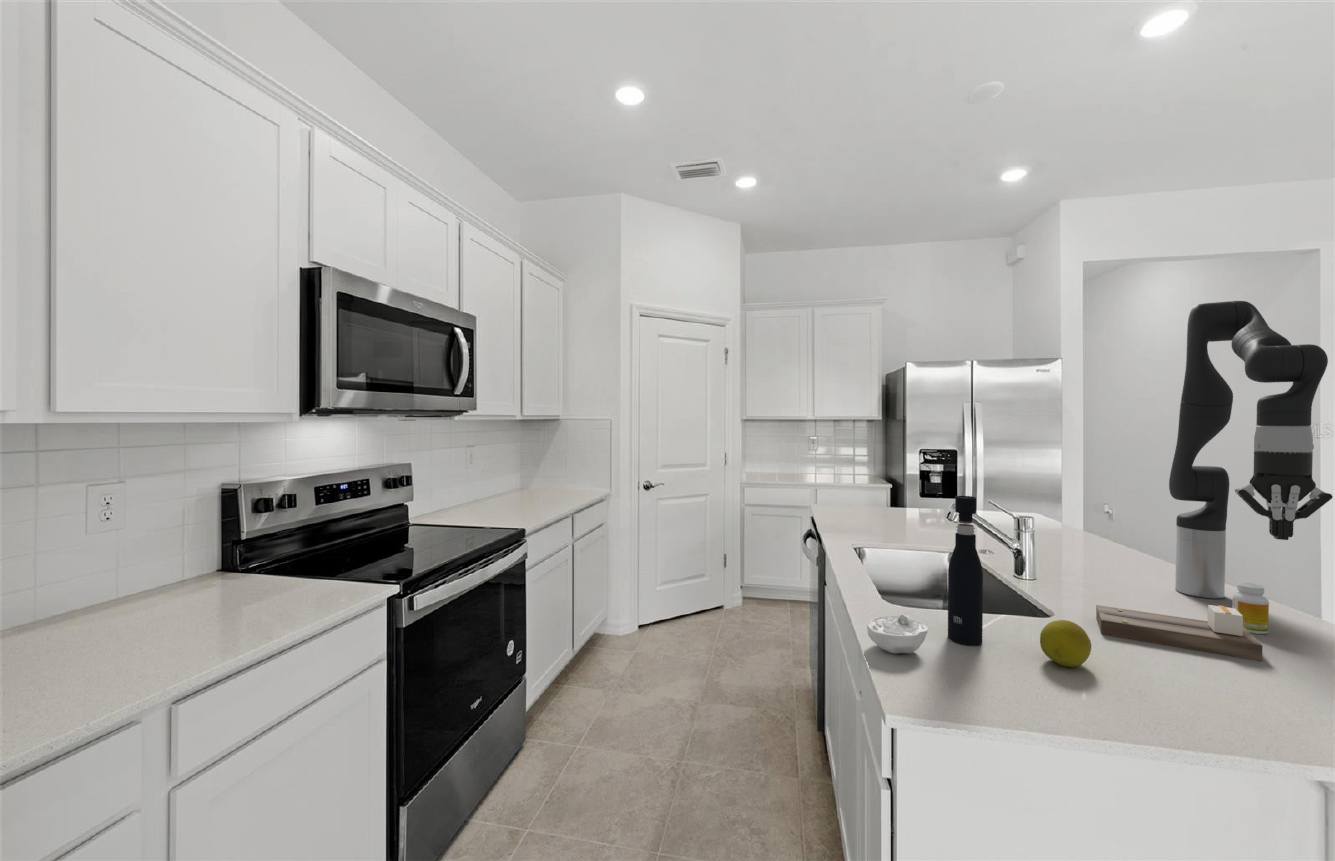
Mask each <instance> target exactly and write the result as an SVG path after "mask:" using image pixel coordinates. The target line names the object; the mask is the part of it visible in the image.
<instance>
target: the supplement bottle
mask: <svg viewBox="0 0 1335 861" xmlns="http://www.w3.org/2000/svg"><path fill="white" fill-rule="evenodd" d="M1236 585H1237V586H1236V588H1237V591H1238V592H1235V593H1233V594H1232V603H1231V604H1232V607H1231V608H1235V609H1236V610H1237V611H1238V612H1239V613H1240V614H1241V615H1242V616H1243V627H1245V628H1246V629H1247V630H1248V631H1249V632H1250V633H1251V634H1255V635H1266V634H1268V633H1269V614H1270V613H1269V608H1270V603H1269V601H1270V600H1269V599H1268V598H1266V597H1265V596H1264V595H1265V587H1264V586H1262V585H1259V584H1254V583H1249V582H1247V583H1246V582H1238V583H1237V584H1236Z"/></svg>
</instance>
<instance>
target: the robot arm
mask: <svg viewBox="0 0 1335 861" xmlns="http://www.w3.org/2000/svg"><path fill="white" fill-rule="evenodd" d="M1186 329H1187V330H1186V332H1187V333H1186V355H1185V356H1186V362H1185V372H1184V379H1183V386H1182V393H1181V397H1180V404H1179V416H1178V417H1179V418H1178V429H1177V439H1176V440H1177V441H1176V444H1175V450H1174V456H1173V461H1172V463H1171V464H1172V465H1171V468H1170V473H1169V474H1170V475H1169V480H1168V483H1169V484H1168V489H1169V493H1170V496H1171V497H1172V498H1173V499H1175V500H1177V501H1183V502H1184V501H1185V502H1186V501H1187V502H1202V503H1203V502H1204V503H1205V505H1204V506H1202V507H1201V508H1198V509H1195V510H1192V511H1187V512H1184V513H1179V514H1178V515H1177V516H1176V520H1175V521H1176V526H1175V528H1176V530H1175V531H1176V532H1175V533H1176V542H1175V543H1176V544H1175V581H1174V582H1175V584H1174V585H1175V587H1174V589H1175V590H1176V592H1179V593H1182V594H1185V595H1188V596H1193V597H1199V598H1205V599H1224V598H1225V592H1226V588H1225V586H1226V585H1225V584H1226V554H1227V553H1226V551H1227V550H1226V548H1227V547H1226V545H1227V542H1226V541H1227V539H1226V538H1227V533H1226V532H1227V519H1228V506H1229V505H1228V503H1229V497H1230V496H1229V493H1230V477H1229V474H1228V472H1227V470H1226V469H1225V468H1223V467H1221V466H1214V465H1213V466H1212V465H1211V466H1209V465H1208V466H1207V465H1205V466H1204V465H1194V461H1195V460H1196V457H1197V456H1198V454H1199V453H1200V451H1201V450H1202V449H1203V448H1204V447H1206V445H1207V444H1209V443H1210V441H1212V439H1214V438H1215V437H1216V436H1217V435H1218V434H1219V433H1221V431H1223V429H1225V427H1226V426H1227V425H1228V423H1229V422H1230V419H1231V416H1232V415H1231V414H1232V409H1233V408H1232V407H1233V404H1234V403H1233V402H1234V393H1233V390H1232V389H1231V387H1230V385H1229V384H1228V382H1227V381H1226V380H1225V378H1223V376H1222V374H1220V373H1219V371H1218V370H1217V369H1216V367H1215V366H1214V364H1213V362H1212V361H1211V358H1210V355H1209V351H1208V345H1209V342H1210V343H1212V342H1229V341H1230V342H1231V349H1232V351H1233V353H1234V354H1235V355H1236V356H1237V357H1239V359H1240V360H1242V361H1243V362H1244V373H1245V376H1246V377H1247V378H1248V379H1249V380H1251V381H1254V382H1257V383H1265V384H1266V383H1267V384H1268V383H1292V385H1291V387H1290V388H1289V389H1288V390H1287V391H1285V392H1282V393H1277V394H1270V395H1264V396H1262V397H1260V398H1259V399H1257V403H1256V427H1255V431H1254V432H1255V433H1254V437H1253V475H1252V477H1251V478H1250V479H1249V483H1248V484H1247V485H1244V486H1242V487H1238V488H1235V489H1234V492H1235V494H1236V495H1238V497H1240V498H1241V500H1242V501H1244V503H1246V504H1247V506H1249V507H1250V509H1252V510H1253V511H1254V512H1255V513H1256V514H1258V515H1260V516H1263V517H1267V518H1268V520H1269V524H1268V526H1269V527H1268V533H1269V534H1270V535H1271V536H1272V537H1273V538H1274V539H1276V540H1281V541H1282V540H1283V541H1289V538H1292V537H1293V536H1294V522H1295V521H1296V520H1300V519H1301V520H1302V519H1307V518H1309V517H1311V515H1313V514H1314V513H1316V511H1317V510H1319V509H1321V508H1322V507H1323V506H1324V505H1326V504H1327V503H1328V502H1330V501H1331V500H1332V499H1333V495H1332V493H1329V492H1325V491H1323V490H1321V489H1319V488H1318V487H1316V486H1317V485H1316V482H1315V481H1314V480H1313V456H1314V455H1313V454H1314V451H1313V450H1314V448H1315V444H1314V436H1313V432H1312V406H1313V401H1314V399H1315V395H1316V393H1317V390H1318V388H1319V385H1320V383H1321V380H1322V379H1323V377H1324V374H1325V373H1326V370H1327V367H1328V364H1329V363H1328V362H1329V358H1328V354H1327V353H1326V351H1325V350H1324V348H1322V347H1321V346H1319V345H1316V344H1309V343H1308V344H1291V342H1290V341H1289V340H1288V338H1286V337H1284V336H1283V335H1282V334H1280V333H1279V332H1277V331H1275V330H1273V329H1272V328H1271V327H1270V325H1269V324H1268V323H1267V322H1266V320H1265V317H1263V315H1262V314H1261V312H1260V311H1259V310H1258V309H1257V307H1256V306H1255V305H1254V304H1252V303H1251V302H1249V301H1246V300H1231V301H1228V300H1227V301H1218V302H1217V301H1216V302H1205V303H1198V304H1195V305H1193V307H1192V308H1191V310H1190V312H1189V315H1188V319H1187V328H1186ZM1254 490H1255V491H1256V492H1255V491H1254ZM1256 493H1258V495H1260V496H1261V497H1262V499H1263V500H1265V502H1266V507H1267V509H1266V508H1265V507H1264V506H1263V505H1262V504H1261V503H1260V502H1259V501H1257V499H1255V497H1254V496H1255V495H1256ZM1308 495H1309V496H1308ZM1306 496H1308V497H1309V500H1308V501H1306V502H1305V503H1303V505H1301V506H1300V507H1299V508H1298V503H1299V502H1301V501H1302V500H1303V499H1304V498H1306Z"/></svg>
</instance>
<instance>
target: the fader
mask: <svg viewBox="0 0 1335 861" xmlns="http://www.w3.org/2000/svg"><path fill="white" fill-rule="evenodd" d="M1207 621H1208V625H1209V626H1210V627H1211V629H1212V630H1213V631H1214V632H1218V633H1225V634H1231V635H1238V636H1243V616H1242V615H1241V614H1240V613H1239V612H1238V611H1237V610H1236V609H1235V608H1232V607H1227V606H1225V605H1220V604H1219V605H1214V604H1213V605H1212V604H1211V605H1210V604H1207Z"/></svg>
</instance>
